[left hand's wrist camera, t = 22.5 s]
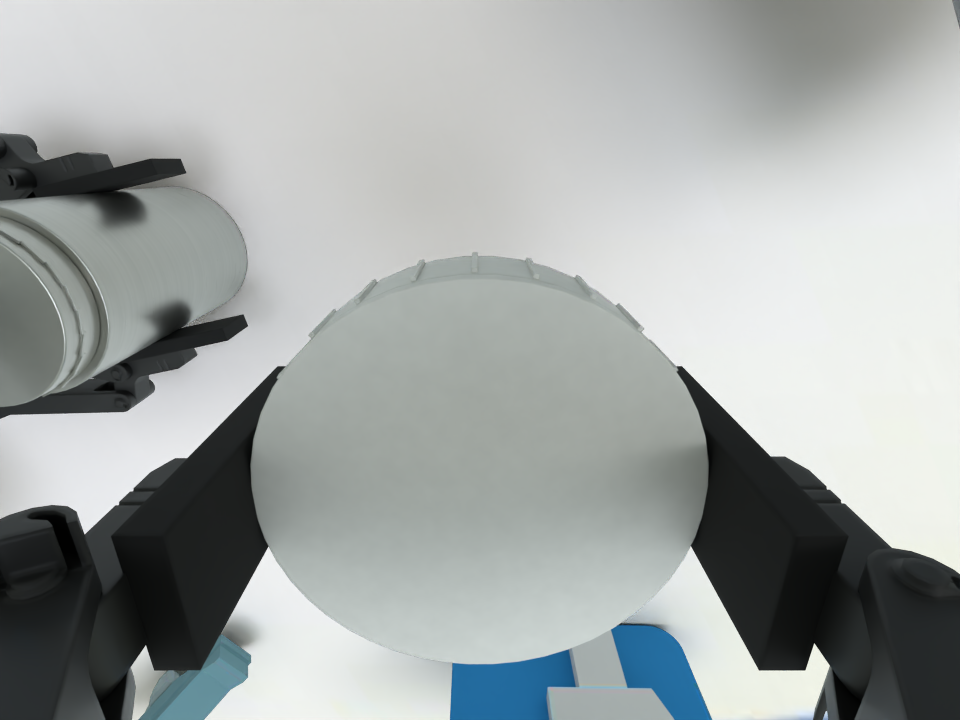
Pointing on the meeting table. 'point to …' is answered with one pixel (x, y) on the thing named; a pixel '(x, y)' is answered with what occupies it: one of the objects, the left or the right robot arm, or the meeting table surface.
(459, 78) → the meeting table surface
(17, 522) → the left robot arm
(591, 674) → the logo
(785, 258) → the meeting table surface
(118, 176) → the right robot arm
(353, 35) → the meeting table surface
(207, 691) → the toy gun
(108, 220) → the jar
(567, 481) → the lid
